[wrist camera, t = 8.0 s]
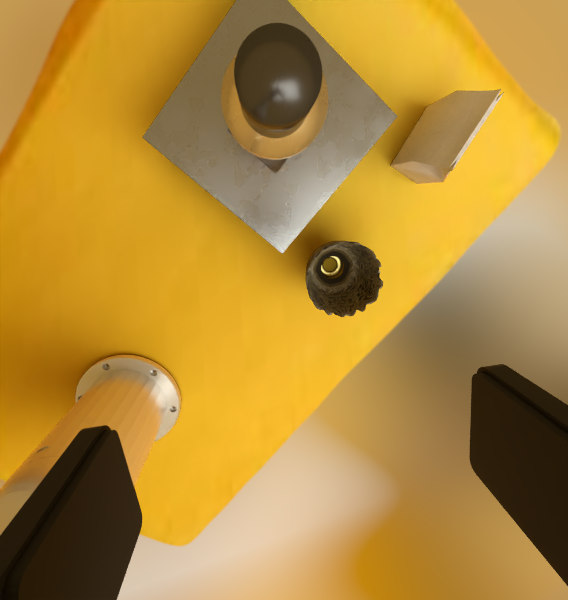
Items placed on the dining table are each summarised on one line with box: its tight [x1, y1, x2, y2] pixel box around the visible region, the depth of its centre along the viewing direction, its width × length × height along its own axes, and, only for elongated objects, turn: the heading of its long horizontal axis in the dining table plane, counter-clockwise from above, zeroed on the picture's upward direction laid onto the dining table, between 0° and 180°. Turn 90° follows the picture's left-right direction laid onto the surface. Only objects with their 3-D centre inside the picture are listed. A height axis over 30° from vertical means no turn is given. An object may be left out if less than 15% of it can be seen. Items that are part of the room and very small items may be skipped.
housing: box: [142, 0, 397, 254], centre depth 34 cm, size 16×16×6 cm
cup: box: [306, 241, 383, 317], centre depth 37 cm, size 8×7×8 cm
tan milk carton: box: [391, 89, 503, 184], centre depth 33 cm, size 4×7×10 cm, turn 150°
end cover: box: [221, 23, 328, 160], centre depth 23 cm, size 7×7×11 cm
